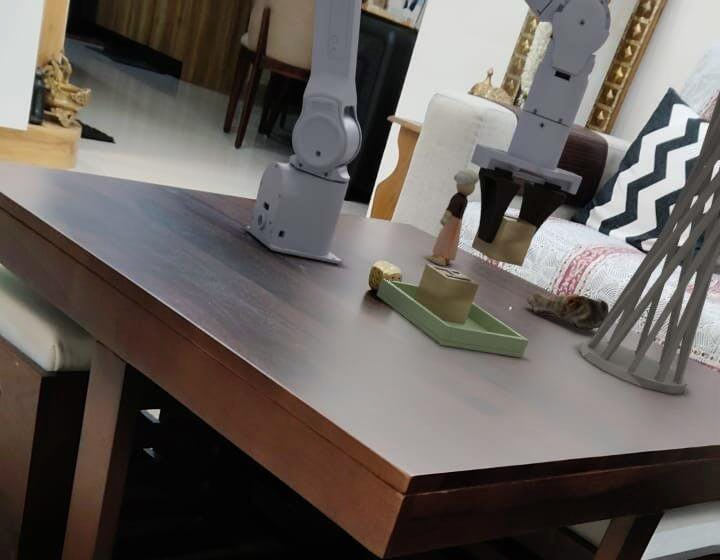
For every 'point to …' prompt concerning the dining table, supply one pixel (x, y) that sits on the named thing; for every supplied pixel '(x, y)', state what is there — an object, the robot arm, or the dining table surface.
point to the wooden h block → (446, 293)
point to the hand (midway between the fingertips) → (500, 244)
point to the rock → (571, 309)
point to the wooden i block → (508, 241)
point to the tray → (454, 323)
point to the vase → (636, 362)
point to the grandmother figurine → (454, 218)
